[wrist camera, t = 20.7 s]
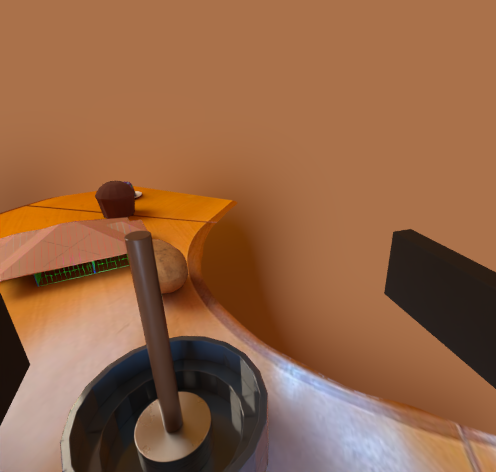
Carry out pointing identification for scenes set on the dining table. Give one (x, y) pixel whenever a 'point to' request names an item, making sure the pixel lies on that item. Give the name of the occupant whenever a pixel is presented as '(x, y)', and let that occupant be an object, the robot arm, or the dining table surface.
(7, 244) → the house
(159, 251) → the potato
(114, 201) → the muffin
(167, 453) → the brown rod with cylinder
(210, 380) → the bowl
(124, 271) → the dining table surface
